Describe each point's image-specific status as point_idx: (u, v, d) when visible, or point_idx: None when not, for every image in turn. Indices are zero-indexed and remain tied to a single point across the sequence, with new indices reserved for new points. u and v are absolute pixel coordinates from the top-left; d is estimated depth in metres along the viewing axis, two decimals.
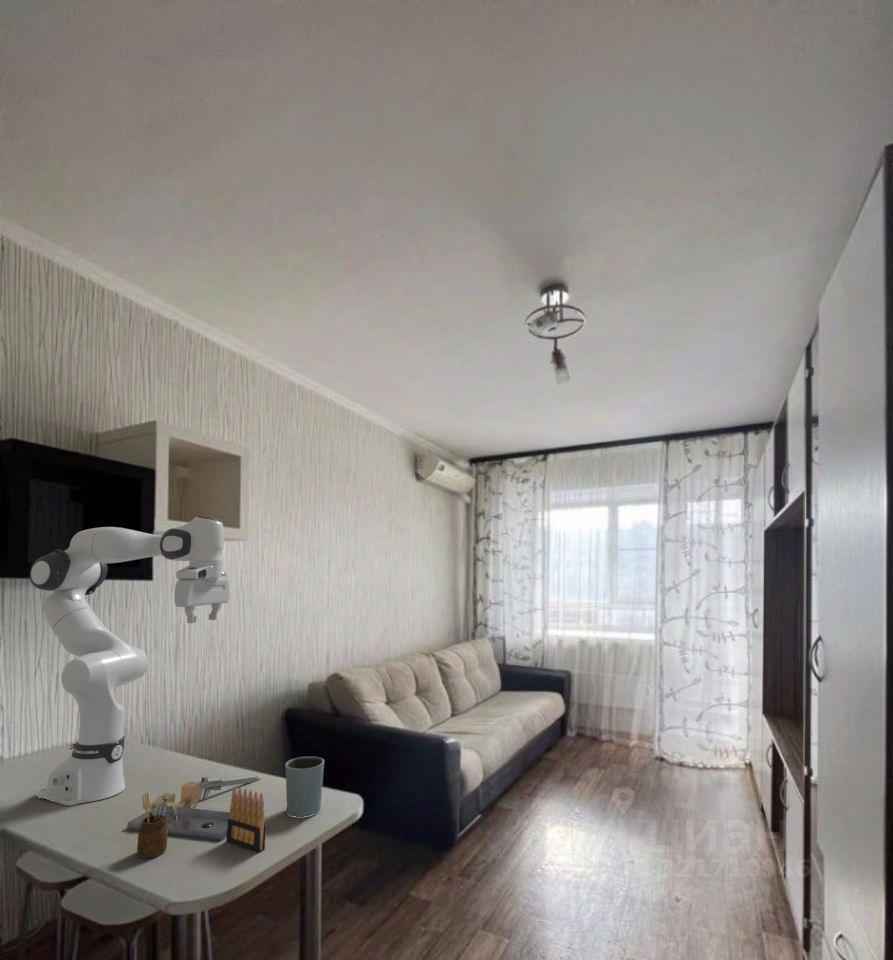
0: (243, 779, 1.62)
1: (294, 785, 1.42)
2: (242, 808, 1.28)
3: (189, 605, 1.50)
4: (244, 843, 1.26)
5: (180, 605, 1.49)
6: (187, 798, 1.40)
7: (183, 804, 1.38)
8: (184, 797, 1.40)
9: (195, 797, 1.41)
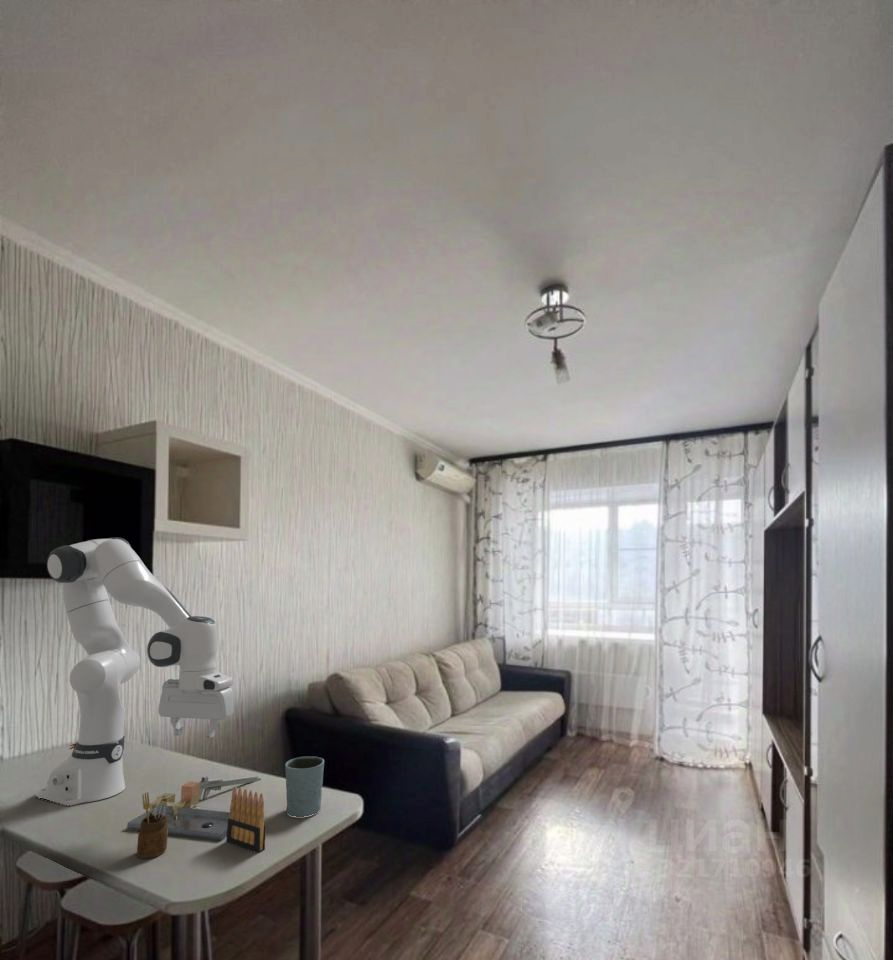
0: (243, 779, 1.62)
1: (295, 785, 1.42)
2: (242, 808, 1.28)
3: None
4: (244, 843, 1.26)
5: (228, 717, 1.42)
6: (187, 798, 1.40)
7: (183, 804, 1.38)
8: (184, 797, 1.40)
9: (195, 797, 1.41)
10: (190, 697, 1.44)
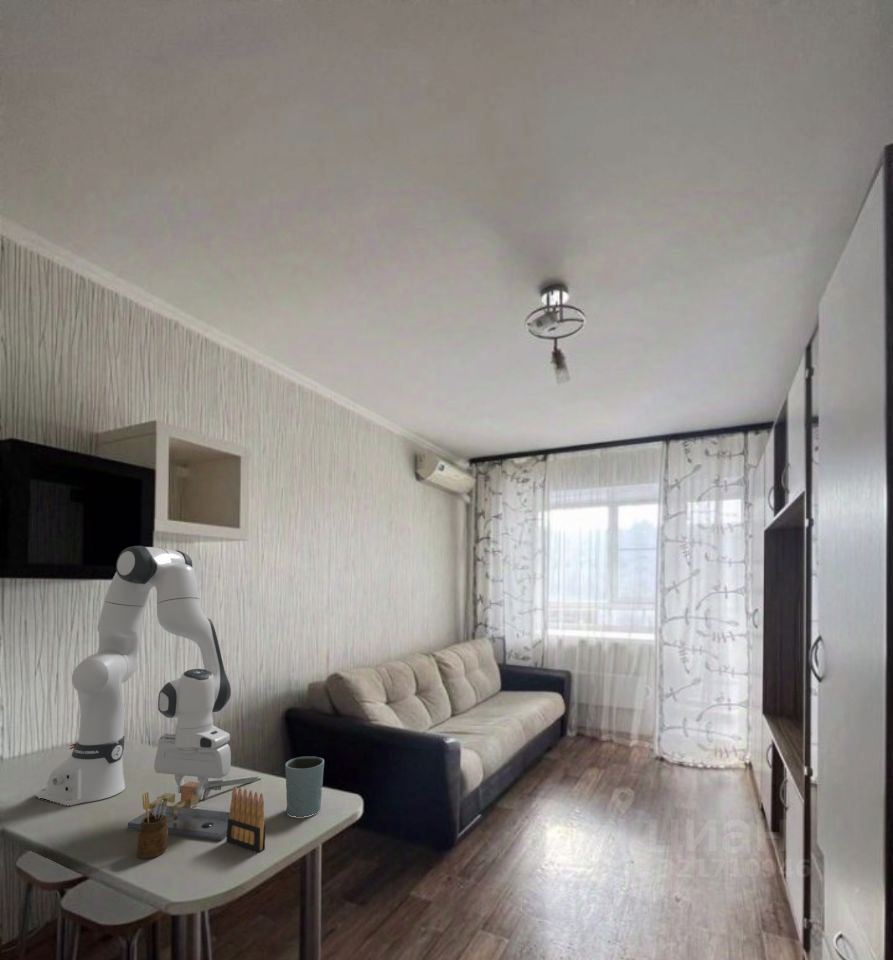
0: (243, 779, 1.62)
1: (295, 785, 1.42)
2: (242, 808, 1.28)
3: None
4: (244, 843, 1.26)
5: (225, 775, 1.40)
6: (187, 798, 1.40)
7: (183, 804, 1.38)
8: (184, 797, 1.40)
9: (195, 797, 1.41)
10: (186, 754, 1.41)
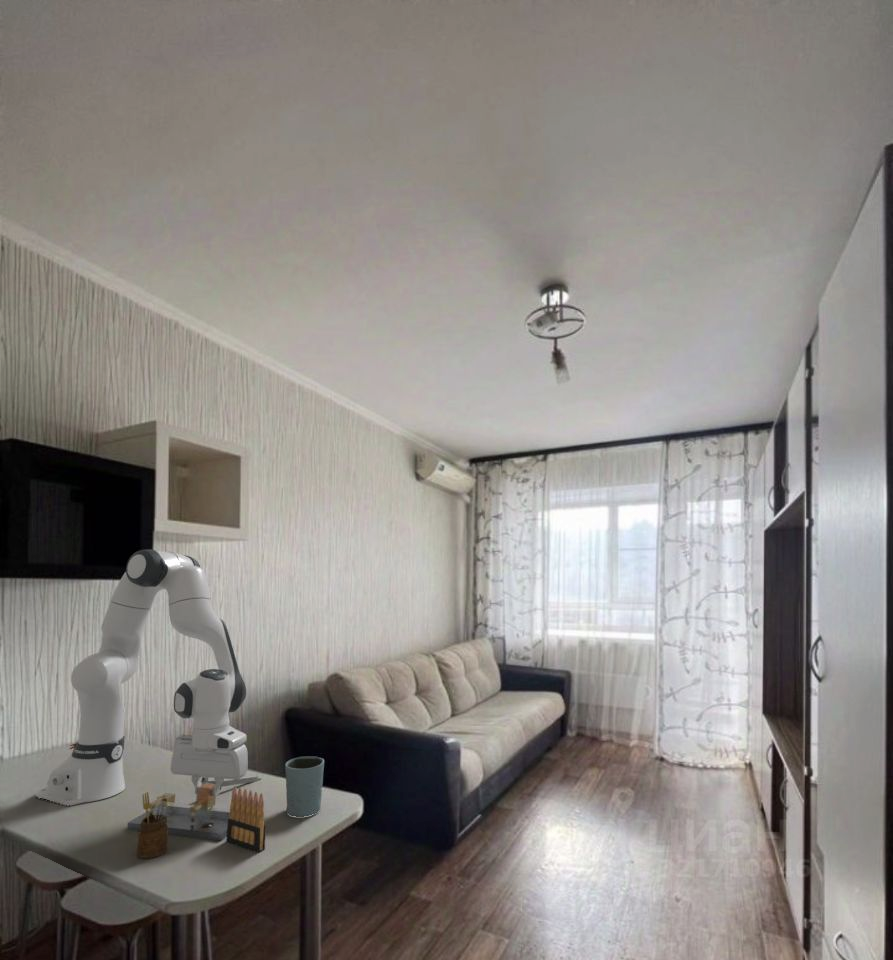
0: (243, 779, 1.62)
1: (295, 785, 1.42)
2: (242, 808, 1.28)
3: None
4: (244, 843, 1.26)
5: (242, 776, 1.39)
6: (204, 800, 1.38)
7: (200, 806, 1.37)
8: (201, 799, 1.39)
9: (212, 798, 1.40)
10: (203, 755, 1.40)
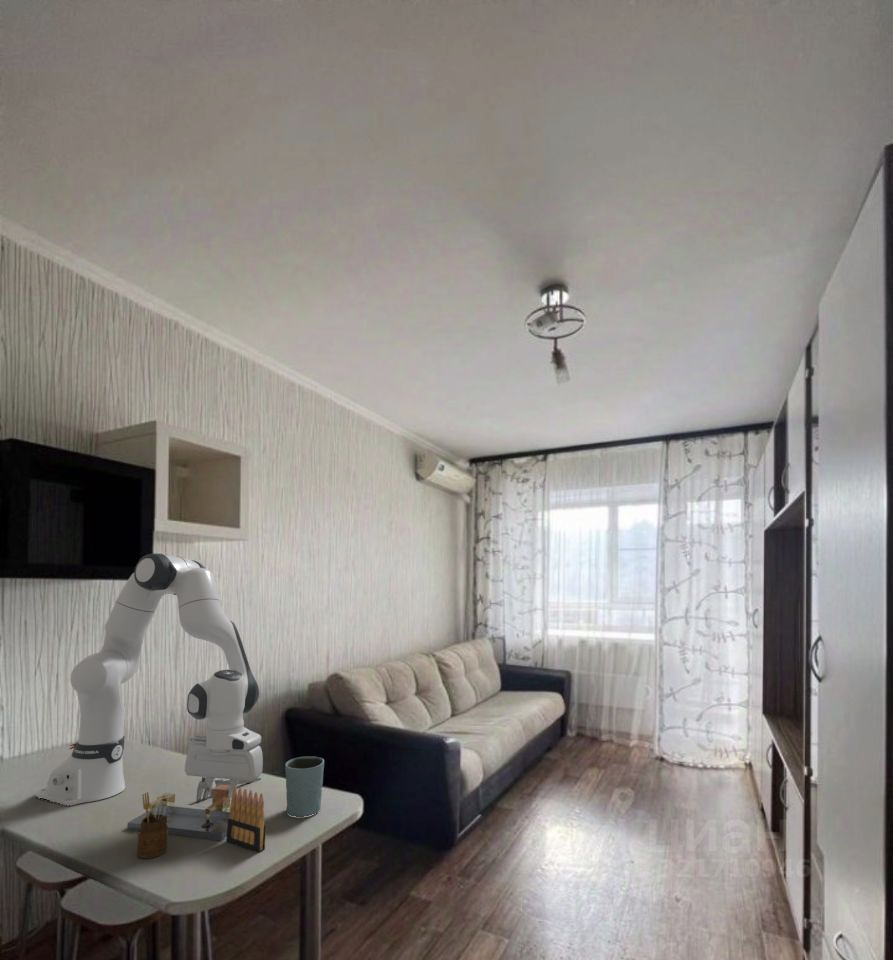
0: None
1: (295, 785, 1.42)
2: (242, 808, 1.28)
3: None
4: (244, 843, 1.26)
5: (257, 777, 1.38)
6: (219, 801, 1.38)
7: (215, 807, 1.36)
8: (216, 800, 1.38)
9: (226, 800, 1.39)
10: (218, 756, 1.39)
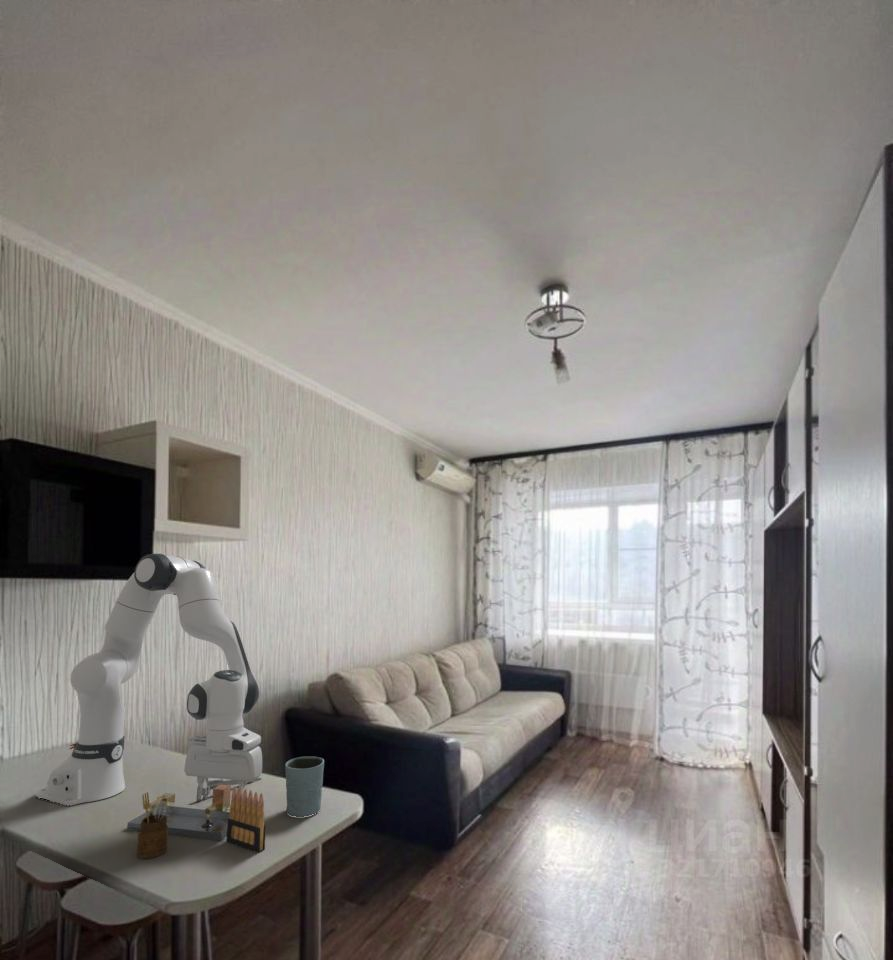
0: None
1: (295, 785, 1.42)
2: (242, 808, 1.28)
3: None
4: (244, 843, 1.26)
5: (257, 777, 1.38)
6: (219, 801, 1.38)
7: (215, 807, 1.36)
8: (216, 800, 1.38)
9: (226, 800, 1.39)
10: (217, 756, 1.39)
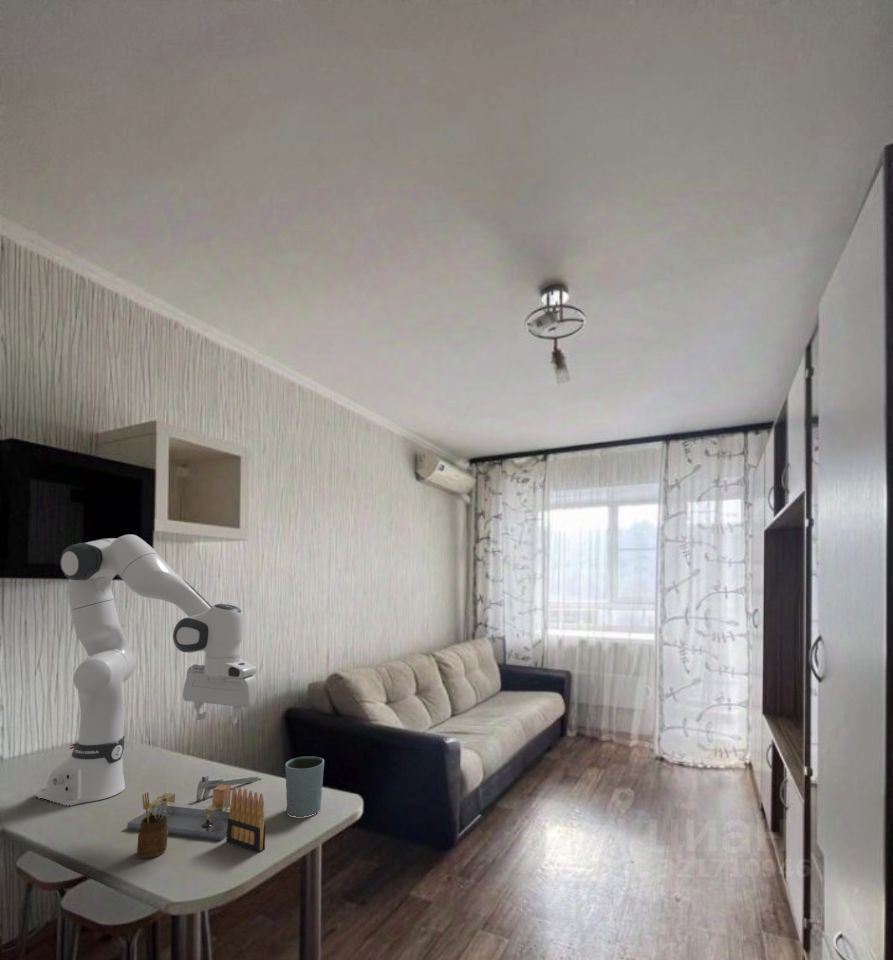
0: (243, 779, 1.62)
1: (295, 785, 1.42)
2: (242, 808, 1.28)
3: None
4: (244, 843, 1.26)
5: (251, 704, 1.44)
6: (219, 801, 1.38)
7: (215, 807, 1.36)
8: (216, 800, 1.38)
9: (226, 800, 1.39)
10: (214, 683, 1.46)
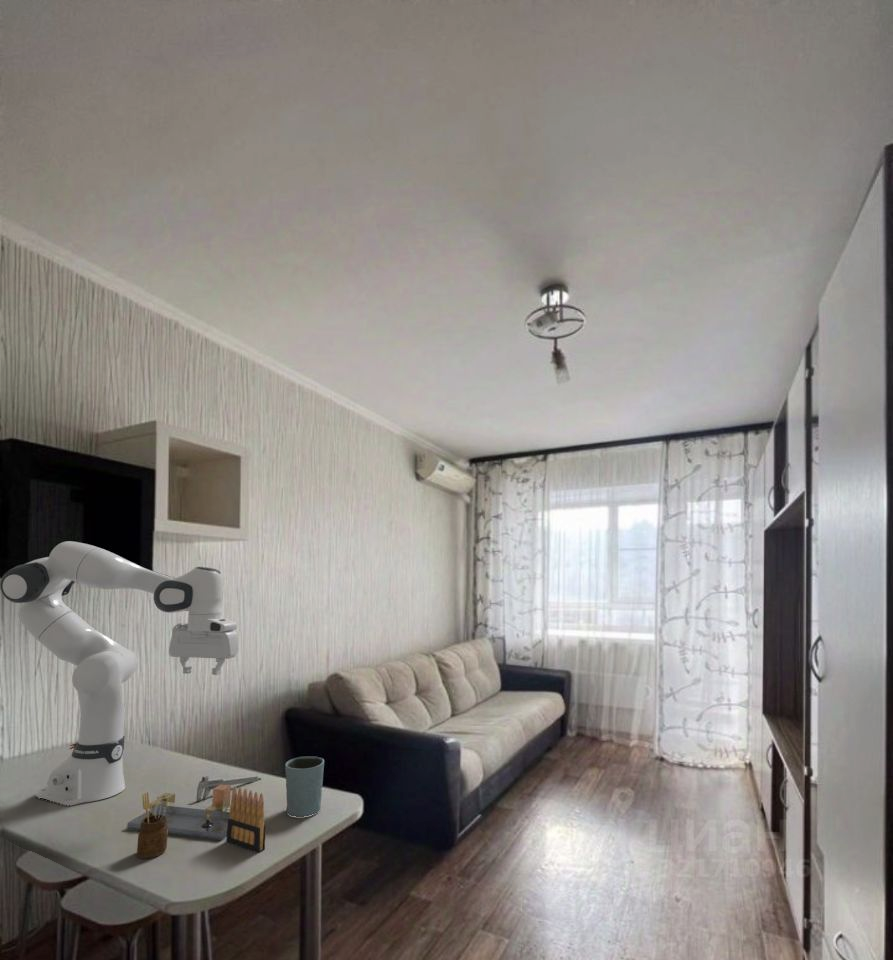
0: (243, 779, 1.62)
1: (295, 785, 1.42)
2: (242, 808, 1.28)
3: None
4: (244, 843, 1.26)
5: (232, 656, 1.56)
6: (219, 801, 1.38)
7: (215, 807, 1.36)
8: (216, 800, 1.38)
9: (226, 800, 1.39)
10: (198, 639, 1.58)
